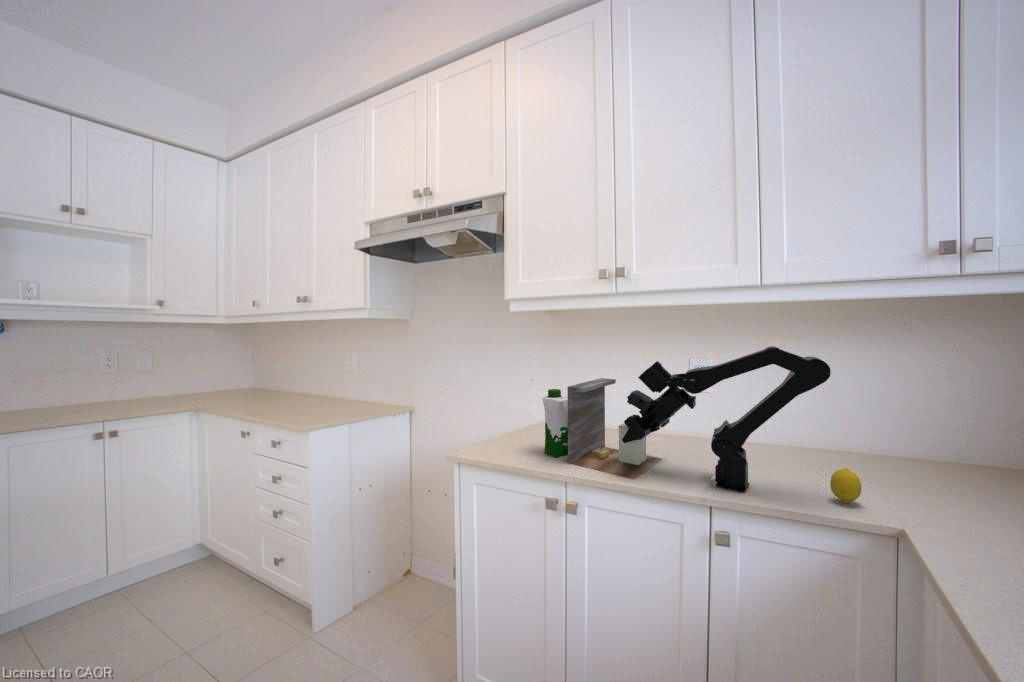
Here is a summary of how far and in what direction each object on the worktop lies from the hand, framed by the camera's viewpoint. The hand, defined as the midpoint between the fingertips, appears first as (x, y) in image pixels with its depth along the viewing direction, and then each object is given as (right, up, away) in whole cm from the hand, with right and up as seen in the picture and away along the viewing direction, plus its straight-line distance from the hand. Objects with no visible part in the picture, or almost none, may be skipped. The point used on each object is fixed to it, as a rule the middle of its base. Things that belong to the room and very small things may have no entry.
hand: (627, 439), depth 120 cm
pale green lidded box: (+1, -6, -1) cm, 6 cm away
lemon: (+42, -9, -24) cm, 50 cm away
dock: (-3, -8, +3) cm, 9 cm away
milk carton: (-18, -8, +13) cm, 23 cm away
